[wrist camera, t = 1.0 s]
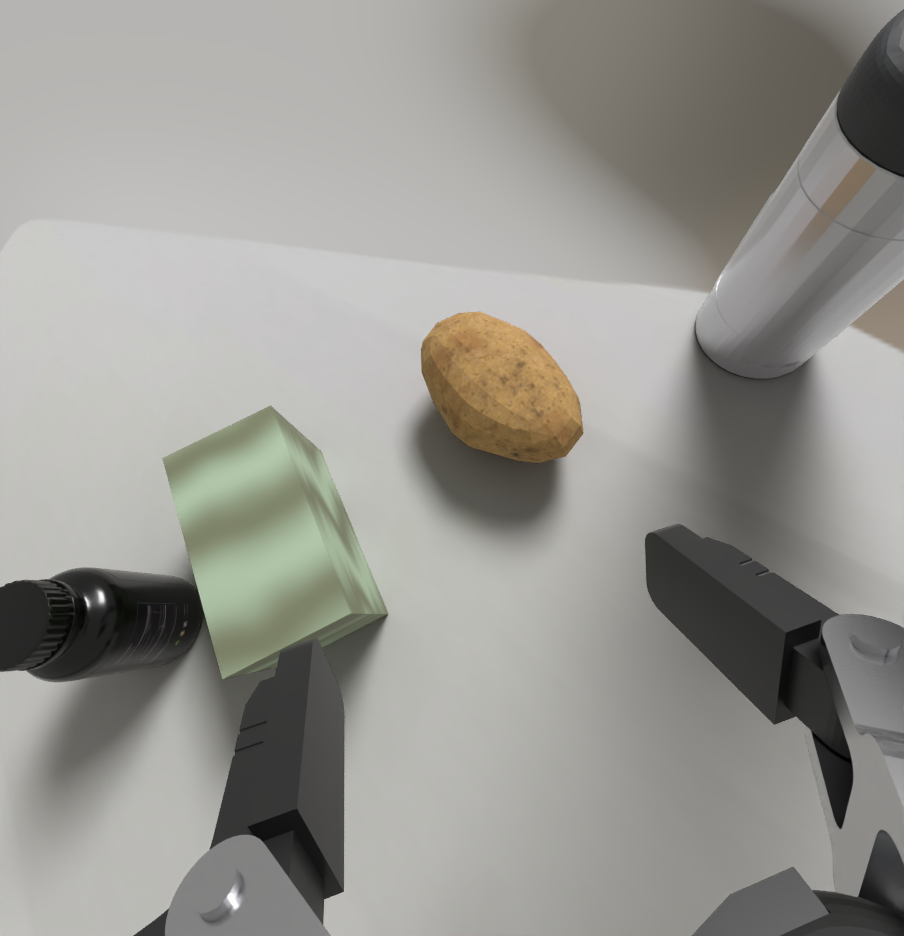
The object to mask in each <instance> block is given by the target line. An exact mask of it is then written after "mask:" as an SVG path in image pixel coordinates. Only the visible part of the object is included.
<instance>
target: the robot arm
mask: <svg viewBox="0 0 904 936" xmlns="http://www.w3.org/2000/svg"><path fill="white" fill-rule="evenodd" d="M903 279H904V10H902V11H901V12H899V13H898V14H897V15H896V16H895V17H894V18H893V19H891V20H890V21H889V22H888V23H887V24H886V25H885V26H884V28H882V30H881V31H880V32H879V33H878V34H877V36H876V37H875V38H874V39H873V41H872V42H871V43H870V45H869V46H868V48H867V49H866V51H865V52H864V54H863V55H862V57H861V58H860V60H859V61H858V63H857V65H856V66H855V67H854V69H853V71H852V72H851V74H850V75H849V77H848V78H847V80H846V82H845V83H844V85H843V86H842V89H841V90H840V91H839V93H838V94H837V96H836V97H835V99H834V101H833V102H832V104H831V105H830V107H829V108H828V110H827V112H826V113H825V115H824V116H823V118H822V119H821V121H820V123H819V124H818V126H817V127H816V129H815V130H814V132H813V133H812V135H811V137H810V138H809V140H808V141H807V143H806V144H805V146H804V148H803V149H802V151H801V153H800V154H799V156H798V157H797V159H796V161H795V162H794V163H793V165H792V167H791V168H790V170H789V171H788V173H787V174H786V176H785V178H784V179H783V181H782V182H781V184H780V185H779V187H778V188H777V190H776V191H774V192H773V193H772V195H771V196H770V198H769V199H768V201H767V202H766V204H765V205H764V207H763V209H762V210H761V212H760V214H759V215H758V217H757V218H756V220H755V221H754V223H753V224H752V226H751V228H750V229H749V231H748V232H747V234H746V236H745V237H744V239H743V240H742V242H741V243H740V245H739V246H738V248H737V250H736V251H735V253H734V254H733V256H732V258H731V259H730V261H729V262H728V264H727V265H726V267H725V269H724V270H723V272H722V273H721V275H720V276H719V278H718V279H717V281H716V283H715V284H714V288H713V290H712V291H711V293H710V294H709V296H708V298H707V299H706V301H705V302H704V304H703V306H702V307H701V309H700V311H699V312H698V315H697V319H696V334H697V338H698V341H699V343H700V345H701V347H702V349H703V351H704V352H705V353H706V354H707V355H708V357H709V358H710V359H711V360H713V361H714V362H715V363H716V364H717V365H719V366H720V367H722V368H724V369H726V370H727V371H729V372H731V373H734V374H737V375H740V376H743V377H749V378H755V379H769V378H774V377H780V376H783V375H785V374H788V373H790V372H792V371H794V370H795V369H797V368H798V367H800V366H801V365H802V364H803V363H805V362H806V361H807V360H808V359H809V358H811V357H812V356H813V355H814V354H815V353H817V352H818V351H819V350H820V349H821V348H822V347H824V346H825V345H826V344H827V343H828V342H830V341H831V340H832V339H833V338H835V337H836V336H837V335H838V334H839V333H841V332H842V331H843V330H844V329H845V328H847V327H848V326H849V325H850V324H851V323H852V322H854V321H855V320H856V319H857V318H858V317H859V316H861V315H862V314H863V313H864V312H865V311H867V310H868V309H869V308H870V307H871V306H873V305H874V304H875V303H876V302H877V301H879V300H880V299H881V298H882V297H883V296H884V295H886V294H887V293H888V292H889V291H890V290H891V289H893V288H894V287H895V286H896V285H897V284H899V283H900V282H901V281H902V280H903ZM645 552H646V579H647V588H648V592H649V594H650V597H651V599H652V601H653V602H654V604H655V605H656V607H657V608H658V609H659V610H660V611H661V612H662V613H663V614H664V615H665V616H666V617H667V618H668V619H669V620H670V621H671V622H672V623H673V624H674V625H675V626H676V627H677V628H678V629H679V630H680V631H681V632H682V633H683V634H684V635H685V636H686V637H687V638H688V639H689V640H690V641H691V642H692V643H693V644H694V645H695V646H696V647H697V648H698V649H699V650H700V651H701V652H702V653H703V654H704V655H705V656H706V657H707V658H708V659H709V660H710V661H711V662H712V663H713V664H714V665H715V666H716V667H717V668H718V669H719V670H720V671H721V672H722V673H723V674H724V675H725V676H726V677H727V678H728V679H729V680H730V681H731V682H732V683H733V684H734V685H735V686H736V687H737V688H738V689H739V690H740V691H741V692H742V693H743V694H744V695H745V696H746V697H747V698H748V699H749V700H750V701H751V702H752V703H753V704H754V705H755V706H756V707H757V708H758V709H759V710H760V711H761V712H762V713H763V714H764V715H765V716H766V717H767V718H768V719H769V720H770V721H771V722H772V723H773V724H774V725H775V724H777V723H780V722H782V721H785V720H788V719H790V718H793V717H795V716H796V717H797V718H798V719H799V720H801V721H802V722H803V723H804V724H805V725H806V730H805V738H806V743H807V747H808V751H809V755H810V759H811V763H812V767H813V771H814V775H815V779H816V783H817V787H818V791H819V795H820V799H821V803H822V807H823V811H824V815H825V819H826V823H827V827H828V831H829V835H830V840H831V846H832V854H833V878H834V887H835V892H828V891H819V890H811V889H810V887H809V886H808V885H807V883H806V882H805V881H804V880H803V878H802V877H801V876H800V875H799V873H798V872H797V871H796V870H795V868H794V867H791V868H789V869H787V870H785V871H782V872H780V873H778V874H776V875H773V876H771V877H769V878H767V879H764V880H762V881H760V882H758V883H755V884H753V885H751V886H749V887H746V888H744V889H742V890H740V891H737V892H735V893H733V894H730V895H729V896H728V897H727V898H726V900H725V901H724V902H723V903H722V904H721V905H720V906H719V907H718V908H717V909H716V910H715V911H714V912H713V914H712V915H711V916H710V917H709V918H708V919H707V920H706V921H705V922H704V923H703V924H702V925H701V926H700V928H699V929H698V930H697V931H696V932H695V933H694V934H693V935H692V936H904V628H903V627H901V626H899V625H897V624H894V623H892V622H889V621H886V620H883V619H880V618H876V617H872V616H867V615H859V614H844V615H839V614H837V613H836V612H834V611H832V610H831V609H829V608H828V607H826V606H825V605H823V604H822V603H820V602H818V601H817V600H815V599H814V598H812V597H811V596H809V595H808V594H806V593H804V592H803V591H801V590H800V589H798V588H797V587H795V586H794V585H792V584H790V583H789V582H787V581H786V580H784V579H783V578H781V577H780V576H778V575H776V574H775V573H773V572H772V573H770V572H769V569H767V568H766V567H764V566H762V565H761V564H759V563H758V562H756V561H755V562H753V561H752V558H750V557H748V556H747V555H745V554H744V553H742V552H741V551H739V550H738V549H736V548H734V547H733V546H731V545H728V544H725V543H722V542H719V541H716V540H713V539H711V538H708V537H706V538H703V539H702V538H701V537H699V536H698V535H696V534H695V533H693V532H692V531H690V530H689V529H687V528H686V527H684V526H683V525H680V524H676V525H672V526H669V527H666V528H663V529H660V530H657V531H654V532H650V533H648V534H647V535H646V538H645ZM342 892H344V706H343V700H342V696H341V692H340V688H339V686H338V683H337V681H336V678H335V676H334V674H333V671H332V669H331V667H330V664H329V662H328V660H327V657H326V655H325V653H324V650H323V648H322V646H321V643H320V642H319V640H318V639H317V638H314V639H311V640H308V641H305V642H301V643H298V644H295V645H292V646H289V647H286V648H283V649H282V650H281V651H280V654H279V659H278V664H277V670H276V675H275V677H273V678H270V679H267V680H264V681H261V682H260V683H259V685H258V686H257V688H256V690H255V691H254V693H253V694H252V696H251V698H250V699H249V701H248V702H247V704H246V706H245V710H244V714H243V718H242V722H241V726H240V734H239V735H238V738H237V743H236V747H235V756H233V759H232V763H231V767H230V771H229V775H228V779H227V783H226V787H225V792H224V796H223V800H222V804H221V808H220V812H219V816H218V820H217V824H216V828H215V832H214V836H213V840H212V844H211V847H210V850H209V851H208V852H207V853H206V854H205V855H203V856H202V857H201V858H200V859H199V860H198V861H197V863H196V864H195V865H194V866H193V867H192V868H191V870H190V871H189V872H188V874H187V875H186V876H185V878H184V879H183V881H182V883H181V884H180V886H179V887H178V889H177V891H176V893H175V895H174V897H173V900H172V902H171V905H170V908H169V909H168V910H167V911H165V912H164V913H163V914H162V915H161V916H159V917H158V918H157V919H156V920H154V921H153V922H152V923H150V924H149V925H147V926H146V927H145V928H143V929H142V930H141V931H139V932H138V933H136V934H135V935H134V936H330V934H329V933H328V931H327V930H326V929H325V927H324V926H323V914H324V899H326V898H329V897H331V896H334V895H336V894H339V893H342Z"/></svg>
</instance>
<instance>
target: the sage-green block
mask: <svg viewBox="0 0 904 936" xmlns="http://www.w3.org/2000/svg"><path fill="white" fill-rule="evenodd" d="M163 462H164V466H165V470H166V473H167V477H168V481H169V484H170V488H171V492H172V495H173V499H174V503H175V507H176V510H177V514H178V518H179V521H180V525H181V529H182V532H183V536H184V540H185V544H186V547H187V551H188V555H189V558H190V562H191V566H192V569H193V573H194V577H195V581H196V584H197V588H198V592H199V595H200V599H201V603H202V606H203V610H204V614H205V618H206V621H207V625H208V629H209V632H210V636H211V640H212V643H213V647H214V651H215V655H216V658H217V662H218V666H219V669H220V673H221V677H222V679H226V678H230V677H235V676H239V675H244V674H248V673H253V672H257V671H262V670H266V669H270V668H275V667H277V664H278V659H279V654H280V651H281V650H282V649H283V648H286V647H289V646H292V645H295V644H298V643H301V642H305V641H308V640H311V639H314V638H317V639H318V640H319V642H320V643H321V646H322V648H324V647H326V646H327V645H329V644H331V643H333V642H335V641H337V640H339V639H341V638H343V637H345V636H347V635H349V634H351V633H353V632H355V631H357V630H358V629H360V628H362V627H364V626H366V625H368V624H370V623H372V622H374V621H376V620H378V619H380V618H382V617H384V616H386V615H388V612H387V609H386V607H385V605H384V602H383V600H382V597H381V595H380V592H379V590H378V588H377V585H376V583H375V580H374V578H373V576H372V573H371V571H370V568H369V566H368V563H367V561H366V559H365V556H364V554H363V551H362V549H361V547H360V544H359V542H358V539H357V537H356V535H355V532H354V530H353V527H352V525H351V522H350V520H349V518H348V515H347V513H346V510H345V508H344V506H343V503H342V501H341V498H340V496H339V493H338V491H337V489H336V486H335V484H334V481H333V479H332V477H331V474H330V472H329V469H328V467H327V464H326V462H325V460H324V457H323V455H322V452H321V451H320V450H319V449H318V448H317V447H316V446H315V445H314V444H313V443H311V442H310V441H309V440H308V439H307V438H306V437H305V436H304V435H303V434H301V433H300V432H299V431H298V430H297V429H296V428H295V427H294V426H293V425H292V424H290V423H289V422H288V421H287V420H286V419H285V418H284V417H283V416H282V415H280V414H279V413H278V412H277V411H276V410H275V409H274V408H273V407H272V406H269V407H267V408H265V409H263V410H261V411H259V412H257V413H255V414H252V415H250V416H248V417H246V418H244V419H242V420H240V421H238V422H236V423H234V424H232V425H230V426H228V427H226V428H224V429H222V430H220V431H217V432H215V433H213V434H211V435H209V436H207V437H205V438H203V439H201V440H199V441H197V442H195V443H193V444H191V445H189V446H187V447H185V448H183V449H180V450H178V451H176V452H174V453H172V454H170V455H168V456H166V457H164V458H163Z"/></svg>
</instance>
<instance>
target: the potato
mask: <svg viewBox="0 0 904 936" xmlns="http://www.w3.org/2000/svg"><path fill="white" fill-rule="evenodd" d="M421 364H422V374H423V377H424V379H425V382H426V385H427V387H428V390H429V392H430V395H431V397H432V400H433V402H434V404H435V406H436V407H437V409H438V411H439V412H440V414H441V416H442V417H443V419H444V421H445V422H446V424H447V425H448V427H449V429H450V430H451V432H452V433H453V434H454V435H455V436H456V437H458V438H459V439H460V440H461V441H463V442H464V443H465V444H467V445H468V446H469V447H472V448H475V449H479V450H482V451H486V452H489V453H493V454H496V455H500V456H503V457H507V458H510V459H513V460H517V461H524V462H533V463H541V462H545V461H548V460H551V459H555V458H560V457H565V456H566V455H567V454H568V453H569V451H570V450H571V449H572V448H573V446H574V445H575V444H576V442H577V441H578V440H579V438H580V437H581V436H582V435H583V425H582V416H581V408H580V402H579V399H578V396H577V394H576V393H575V391H574V389H573V387H572V386H571V384H570V382H569V380H568V378H567V377H566V375H565V374H564V373H563V371H562V370H561V369H560V367H559V366H558V365H557V363H556V362H555V360H554V359H553V358H552V357H551V356H550V354H549V353H548V352H547V351H546V350H545V349H544V347H543V346H542V345H541V344H540V343H539V342H537V341H536V340H535V339H534V338H533V337H532V336H530V335H529V334H528V333H527V332H526V331H524V330H522V329H520V328H518V327H515V326H513V325H511V324H509V323H507V322H504V321H502V320H499V319H496V318H493V317H491V316H489V315H486V314H484V313H482V312H468V313H458V314H456V315H454V316H451V317H449V318H447V319H445V320H443V321H441V322H438V323H437V324H436V325H435V326H434V328H433V329H432V330H431V332H430V333H429V334H428V336H427V337H426V338H425V339H424V341H423V344H422V348H421Z"/></svg>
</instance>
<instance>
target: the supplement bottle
mask: <svg viewBox="0 0 904 936" xmlns="http://www.w3.org/2000/svg"><path fill="white" fill-rule="evenodd" d="M201 618H202V606H201V601H200V598H199V596H198V594H197V592H196V590H195V589H194V588H193V587H192V586H191V585H190V584H189V583H188V582H187V581H185V580H183V579H181V578H178V577H174V576H167V575H159V574H149V573H139V572H130V571H120V570H110V569H101V568H75V569H71V570H67V571H64V572H62V573H59V574H57V575H55V576H53V577H52V578H50V579H45V580H22V581H14V582H12V583H7V584H6V585H5V586H3V587H0V672H5V671H15V670H19V671H24V670H26V671H27V672H28V673H30V674H31V675H33V676H34V677H36V678H38V679H41V680H44V681H48V682H67V681H74V680H80V679H86V678H92V677H98V676H104V675H110V674H116V673H122V672H128V671H134V670H140V669H146V668H151V667H156V666H160V665H164V664H167V663H169V662H171V661H173V660H174V659H176V658H178V657H179V656H180V655H181V654H183V653H184V652H185V651H186V650H187V649H188V647H189V646H190V645H191V643H192V642H193V640H194V639H195V637H196V635H197V633H198V630H199V627H200V624H201Z"/></svg>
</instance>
